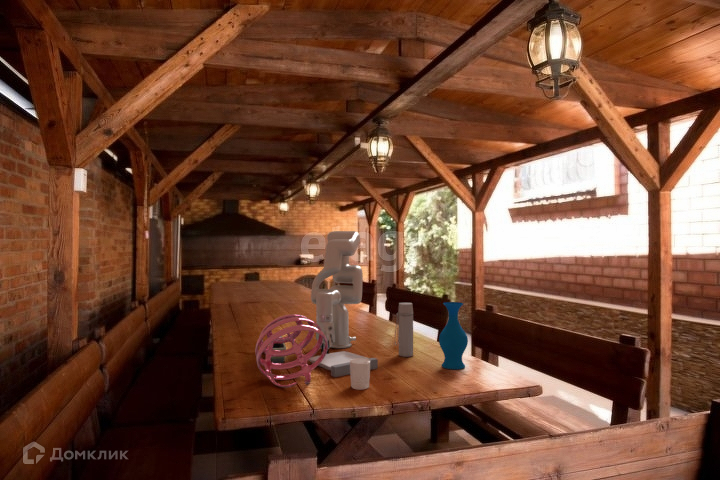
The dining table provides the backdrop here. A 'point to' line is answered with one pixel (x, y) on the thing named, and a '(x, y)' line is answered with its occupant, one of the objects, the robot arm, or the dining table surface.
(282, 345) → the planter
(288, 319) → the spiral basket
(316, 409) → the dining table surface
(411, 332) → the water bottle
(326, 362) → the salad plate
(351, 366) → the white cup
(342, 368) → the rail
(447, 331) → the vase
